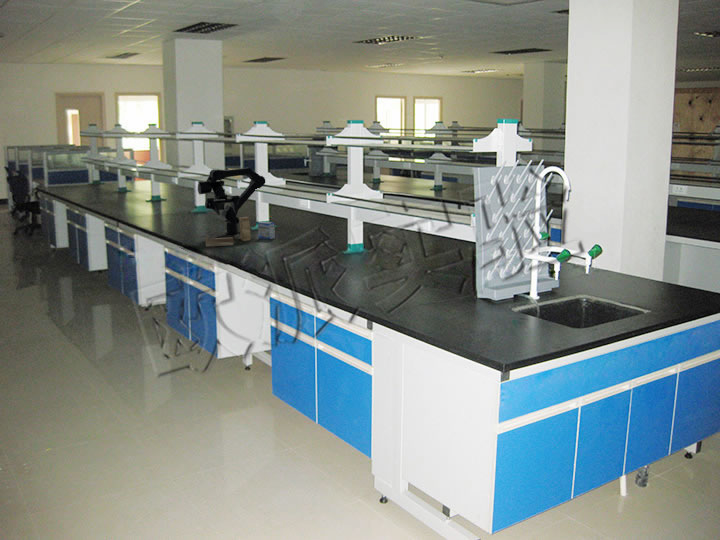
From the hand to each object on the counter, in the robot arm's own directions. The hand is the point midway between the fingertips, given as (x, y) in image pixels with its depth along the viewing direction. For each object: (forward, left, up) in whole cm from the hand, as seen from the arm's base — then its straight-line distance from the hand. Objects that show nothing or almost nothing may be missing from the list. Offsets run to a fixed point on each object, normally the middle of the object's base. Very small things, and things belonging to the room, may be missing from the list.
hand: (227, 213), depth 372 cm
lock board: (+14, +5, -13) cm, 20 cm away
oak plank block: (+1, +12, -13) cm, 18 cm away
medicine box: (-7, +20, -14) cm, 25 cm away
